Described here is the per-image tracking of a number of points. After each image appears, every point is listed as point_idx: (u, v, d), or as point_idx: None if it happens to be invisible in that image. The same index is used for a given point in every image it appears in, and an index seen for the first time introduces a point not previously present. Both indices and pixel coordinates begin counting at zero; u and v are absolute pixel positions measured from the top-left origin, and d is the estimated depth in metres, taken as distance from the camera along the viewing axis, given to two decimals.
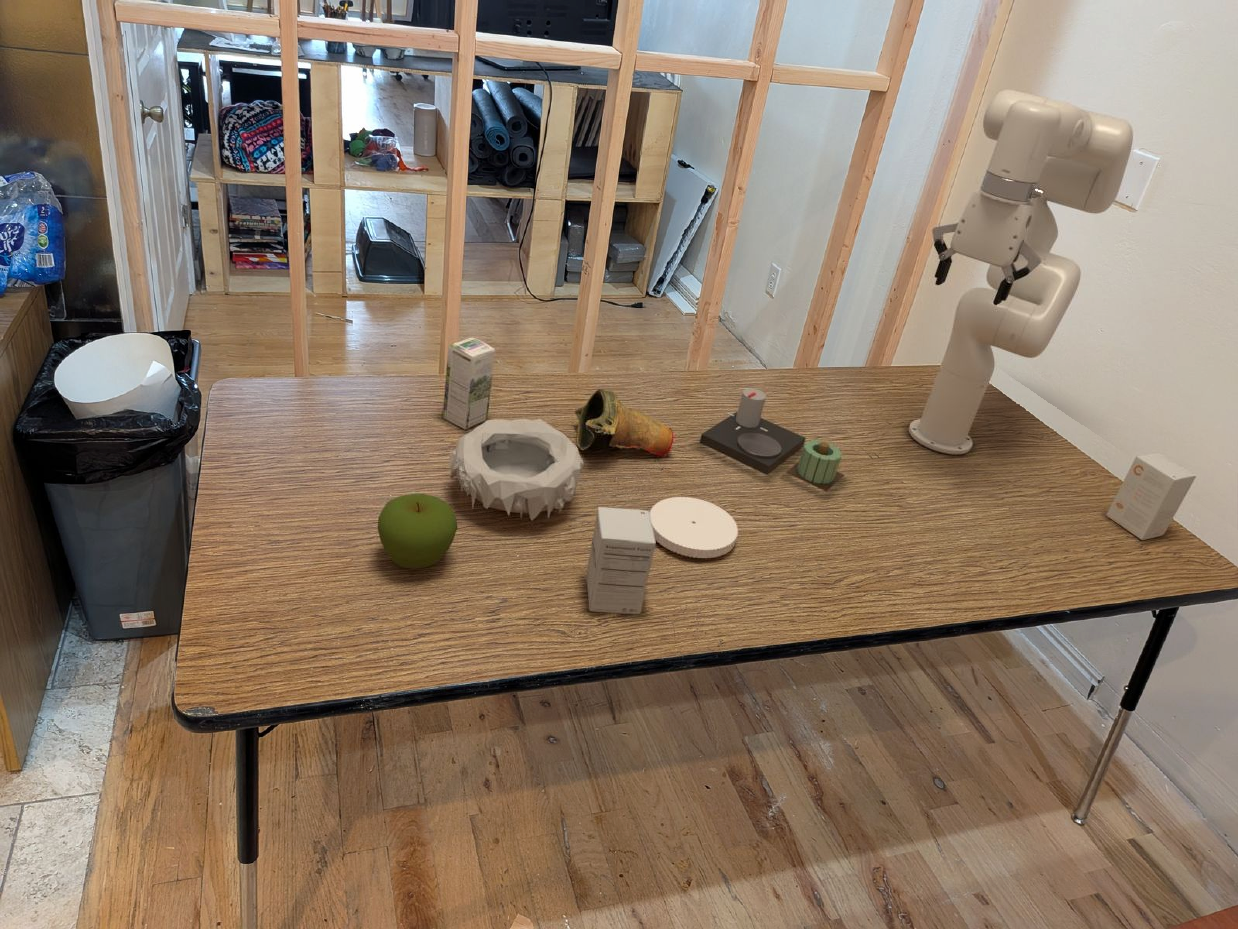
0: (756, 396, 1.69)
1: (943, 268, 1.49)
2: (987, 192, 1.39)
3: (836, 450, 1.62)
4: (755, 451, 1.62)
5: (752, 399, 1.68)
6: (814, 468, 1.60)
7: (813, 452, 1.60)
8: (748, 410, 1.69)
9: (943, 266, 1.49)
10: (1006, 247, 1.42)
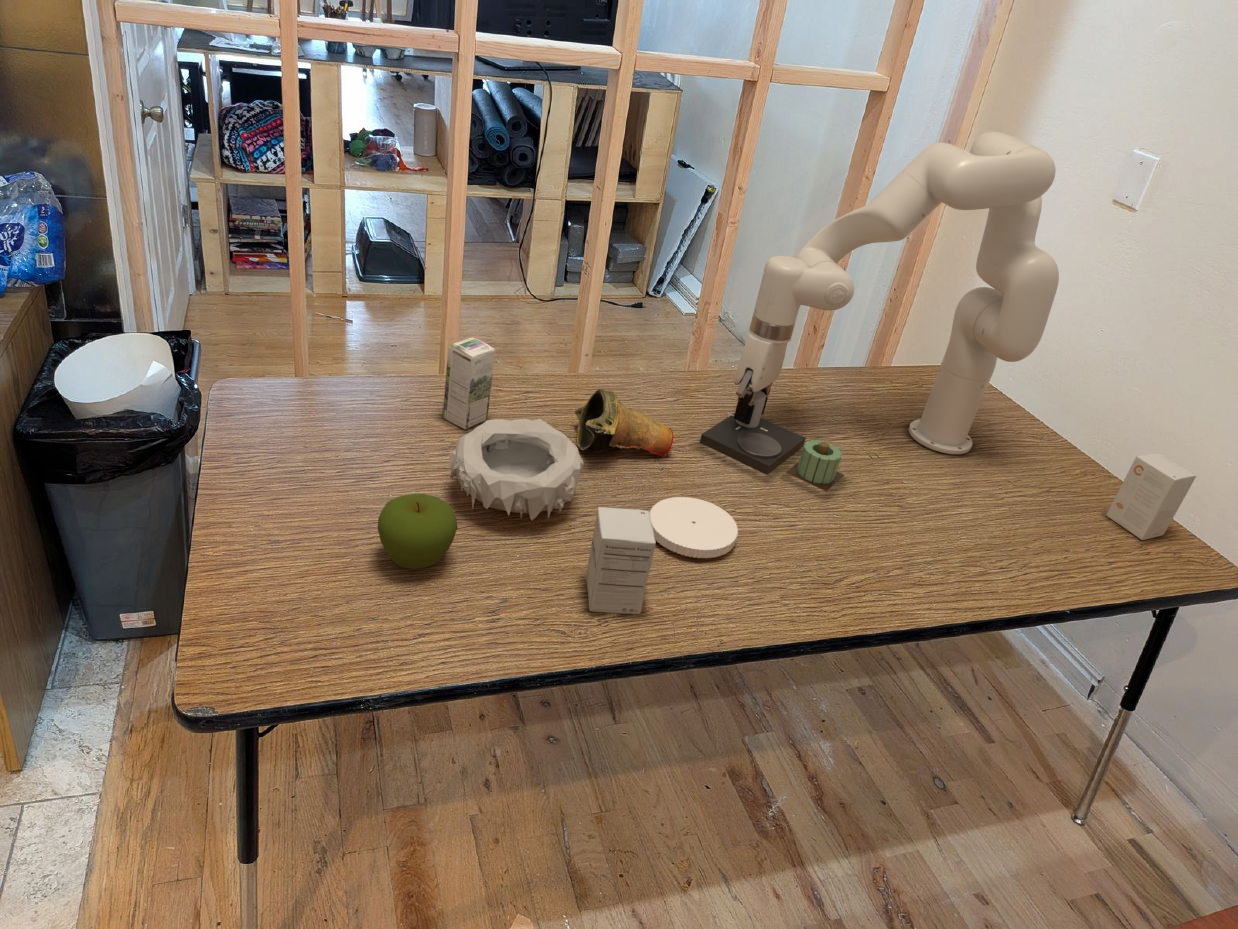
0: (756, 396, 1.69)
1: None
2: (782, 340, 1.60)
3: (836, 450, 1.62)
4: (755, 451, 1.62)
5: None
6: (814, 468, 1.60)
7: (813, 452, 1.60)
8: None
9: (753, 409, 1.68)
10: (780, 366, 1.68)
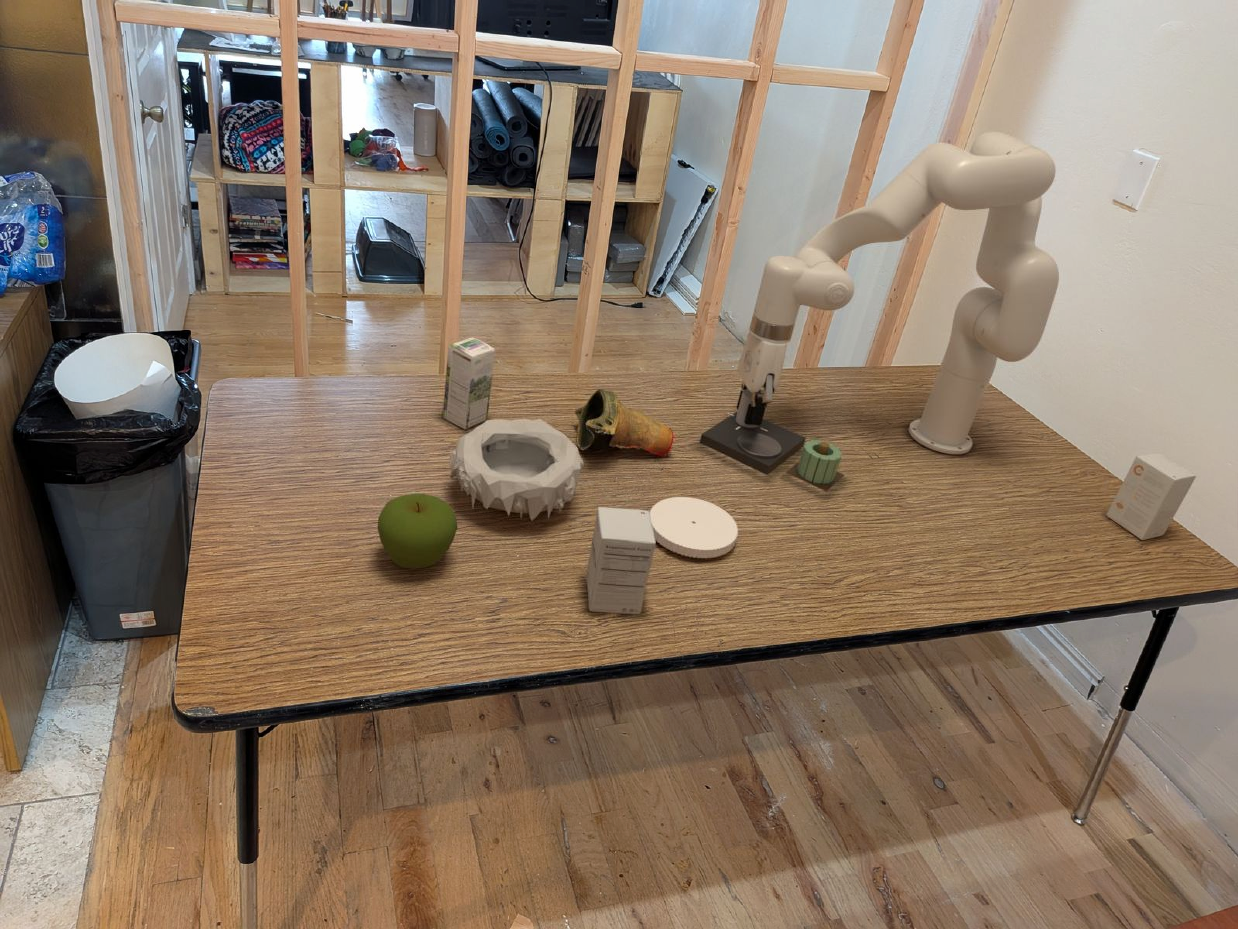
0: (760, 396, 1.69)
1: None
2: None
3: (836, 450, 1.62)
4: (755, 451, 1.62)
5: None
6: (814, 468, 1.60)
7: (813, 452, 1.60)
8: None
9: None
10: None
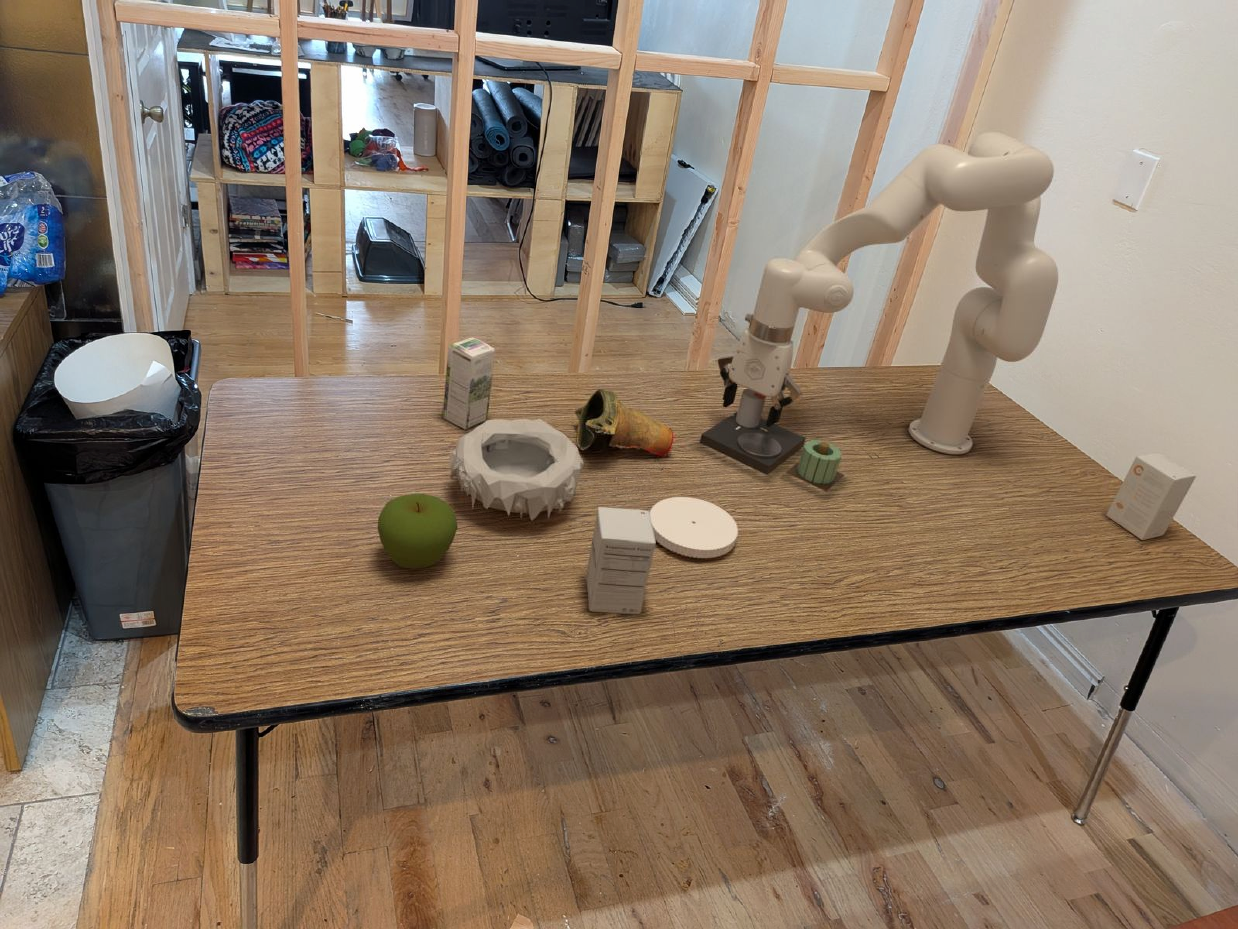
0: (760, 394, 1.70)
1: None
2: None
3: (836, 450, 1.62)
4: (755, 451, 1.62)
5: (765, 397, 1.69)
6: (814, 468, 1.60)
7: (813, 452, 1.60)
8: (762, 409, 1.70)
9: None
10: None
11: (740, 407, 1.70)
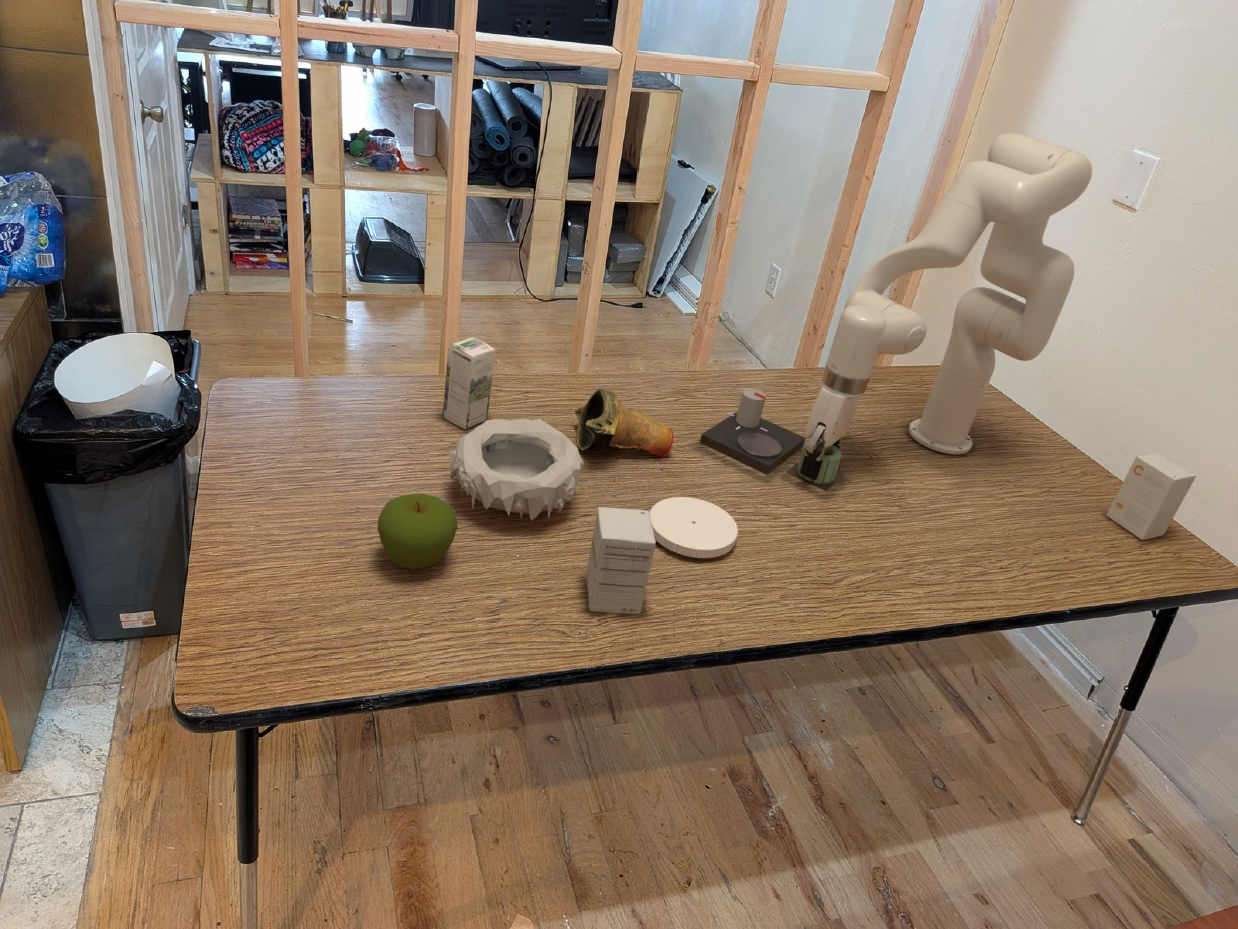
0: (760, 394, 1.70)
1: None
2: (857, 394, 1.52)
3: (836, 450, 1.62)
4: (755, 451, 1.62)
5: (765, 397, 1.69)
6: None
7: None
8: (762, 409, 1.70)
9: (821, 464, 1.58)
10: (851, 419, 1.60)
11: (740, 407, 1.70)
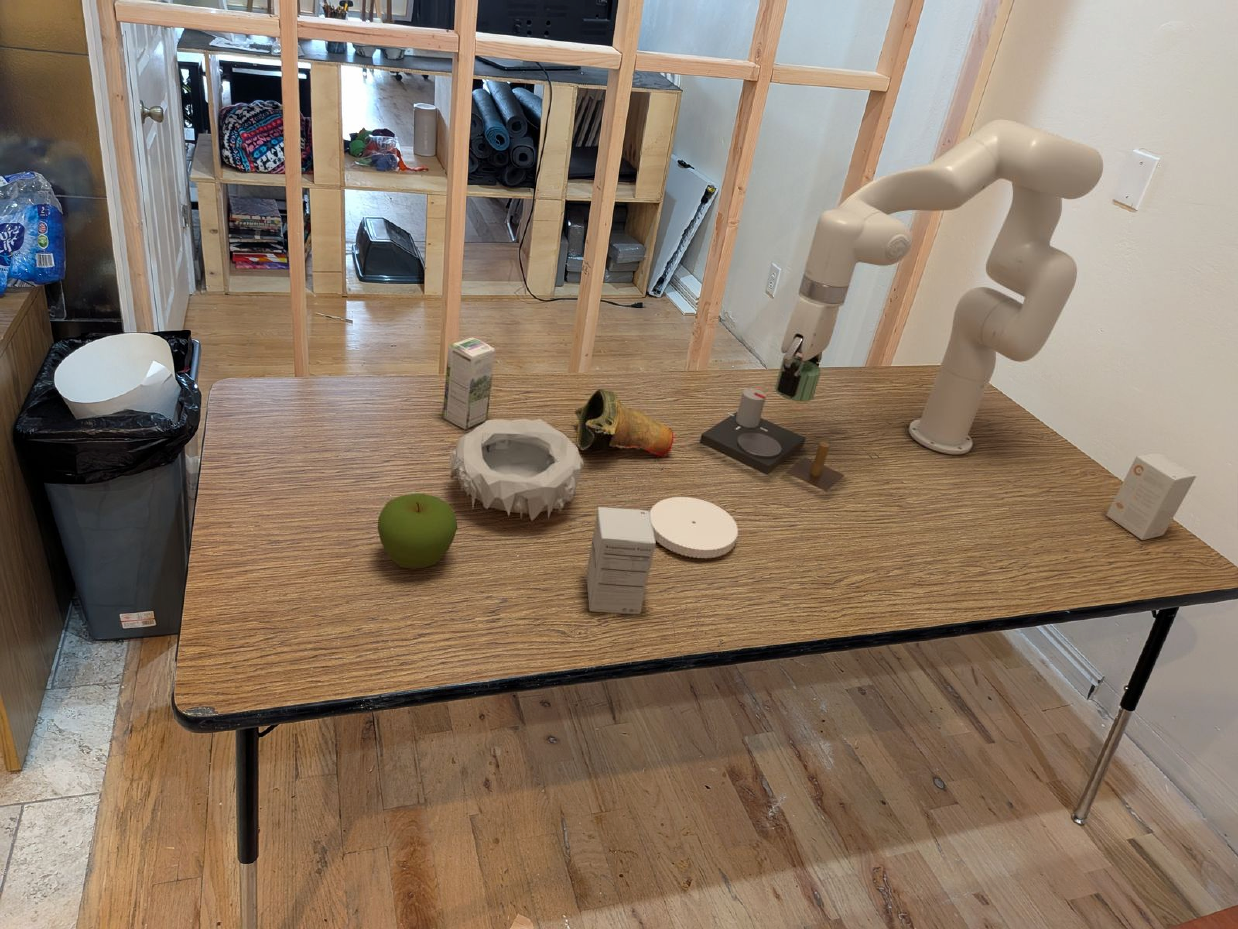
0: (760, 394, 1.70)
1: None
2: (835, 303, 1.46)
3: (814, 367, 1.56)
4: (755, 451, 1.62)
5: (765, 397, 1.69)
6: None
7: None
8: (762, 409, 1.70)
9: (799, 380, 1.53)
10: (831, 333, 1.54)
11: (740, 407, 1.70)
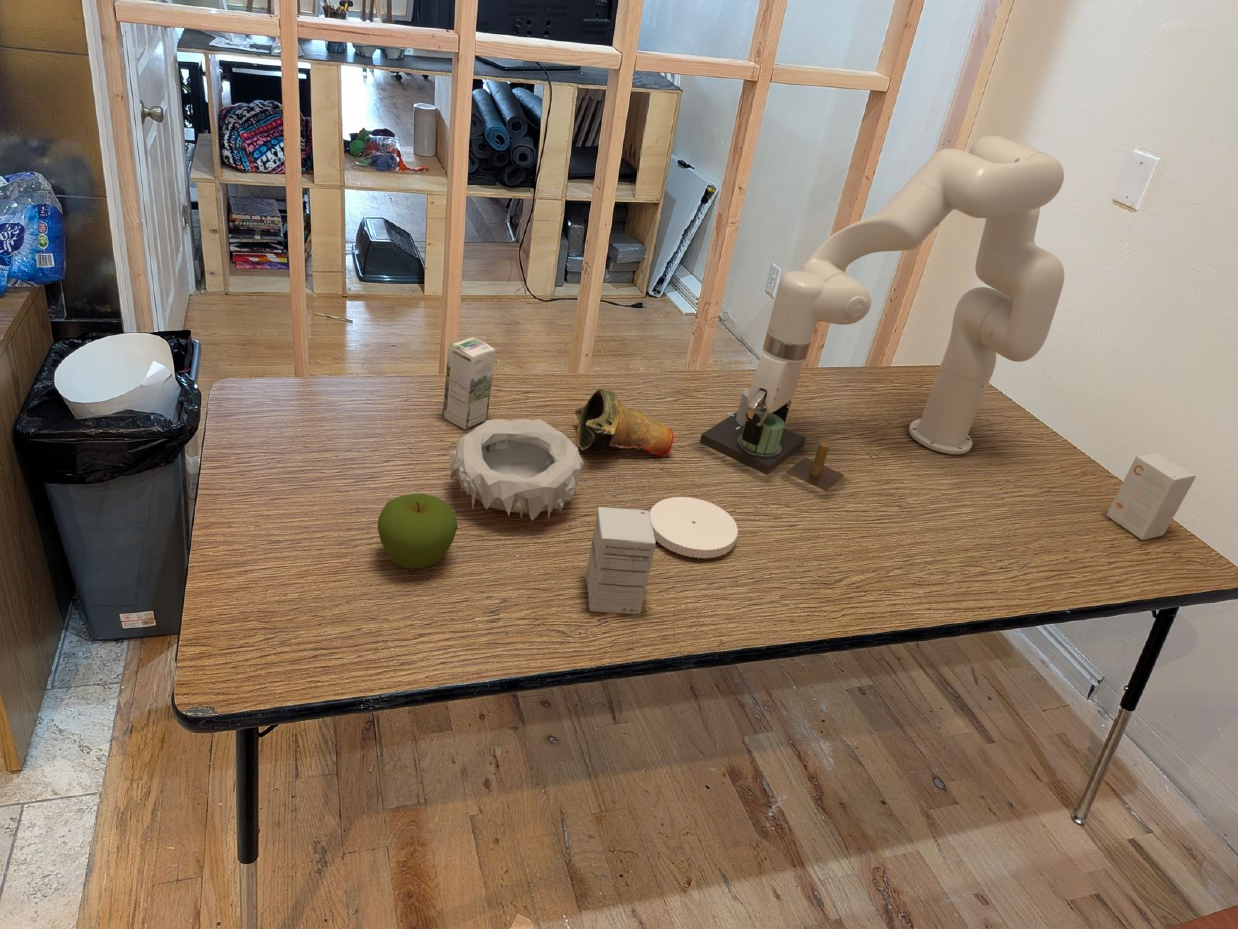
0: None
1: (762, 430, 1.58)
2: (797, 359, 1.53)
3: (778, 420, 1.63)
4: (755, 451, 1.62)
5: None
6: None
7: None
8: None
9: (762, 429, 1.58)
10: (795, 386, 1.61)
11: (740, 407, 1.70)
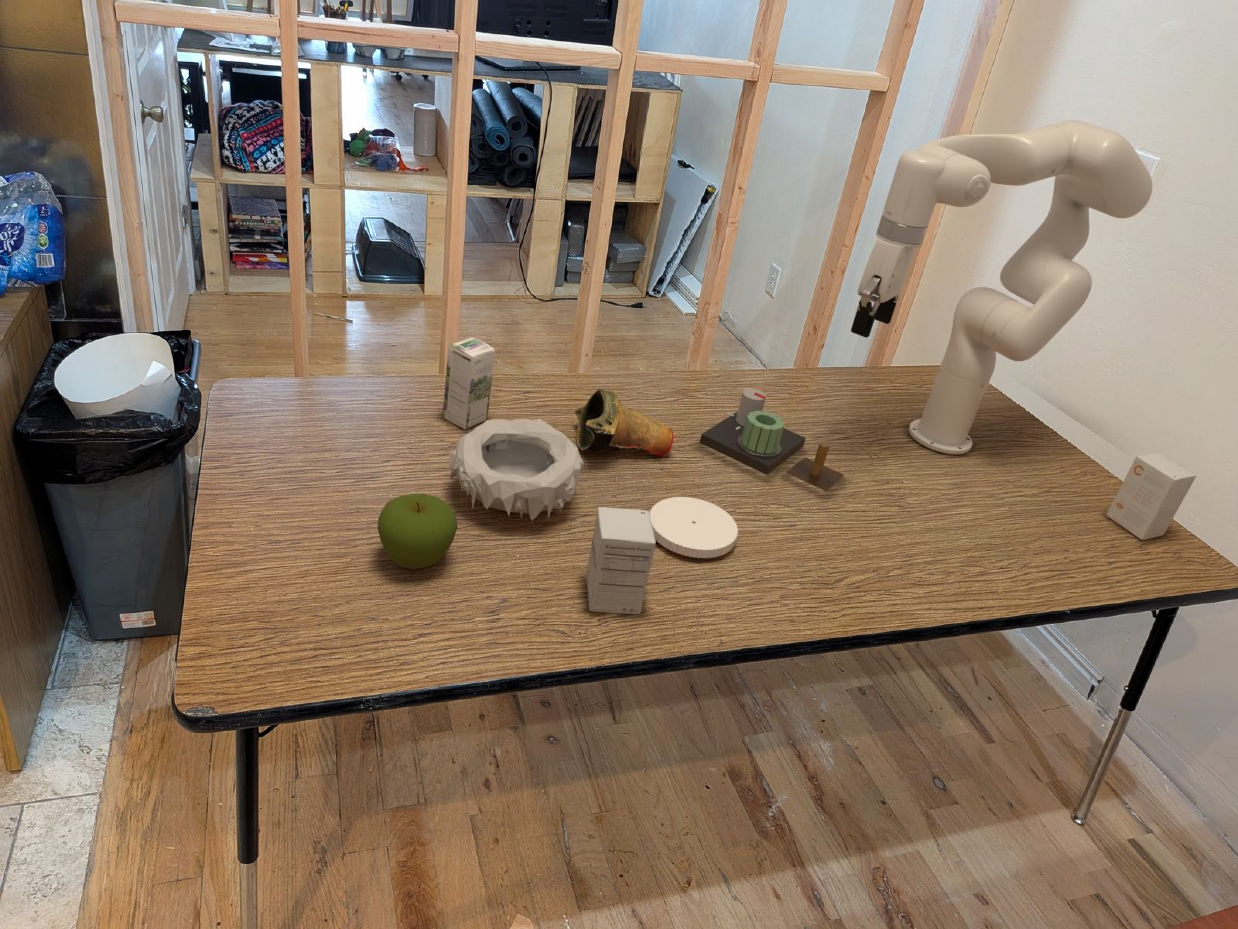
0: (760, 394, 1.70)
1: (873, 321, 1.53)
2: (914, 244, 1.48)
3: (778, 420, 1.63)
4: (755, 451, 1.62)
5: (765, 397, 1.69)
6: (756, 438, 1.61)
7: (755, 422, 1.61)
8: (762, 409, 1.70)
9: (874, 319, 1.53)
10: (906, 277, 1.56)
11: (740, 407, 1.70)
